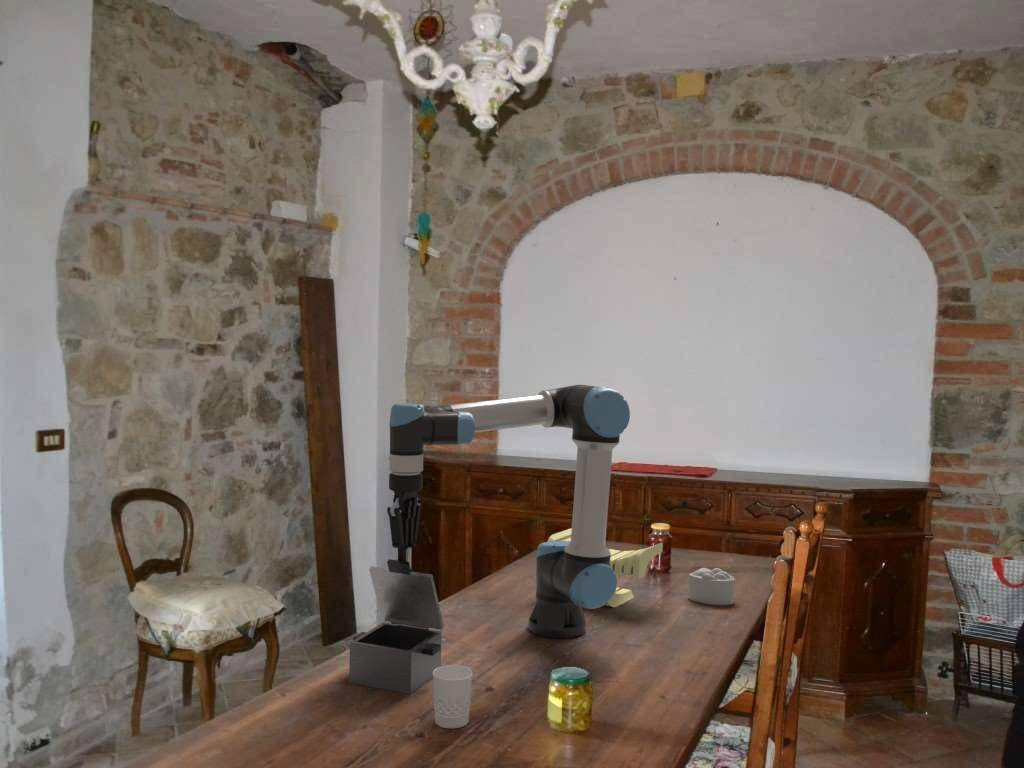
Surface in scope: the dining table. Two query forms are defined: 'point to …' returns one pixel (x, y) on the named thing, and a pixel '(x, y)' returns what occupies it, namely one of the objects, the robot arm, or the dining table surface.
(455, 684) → the white cup
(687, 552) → the dining table surface
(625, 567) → the pale yellow slotted stand
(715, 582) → the lumpy-topped squat cylinder
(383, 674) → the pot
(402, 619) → the lid
